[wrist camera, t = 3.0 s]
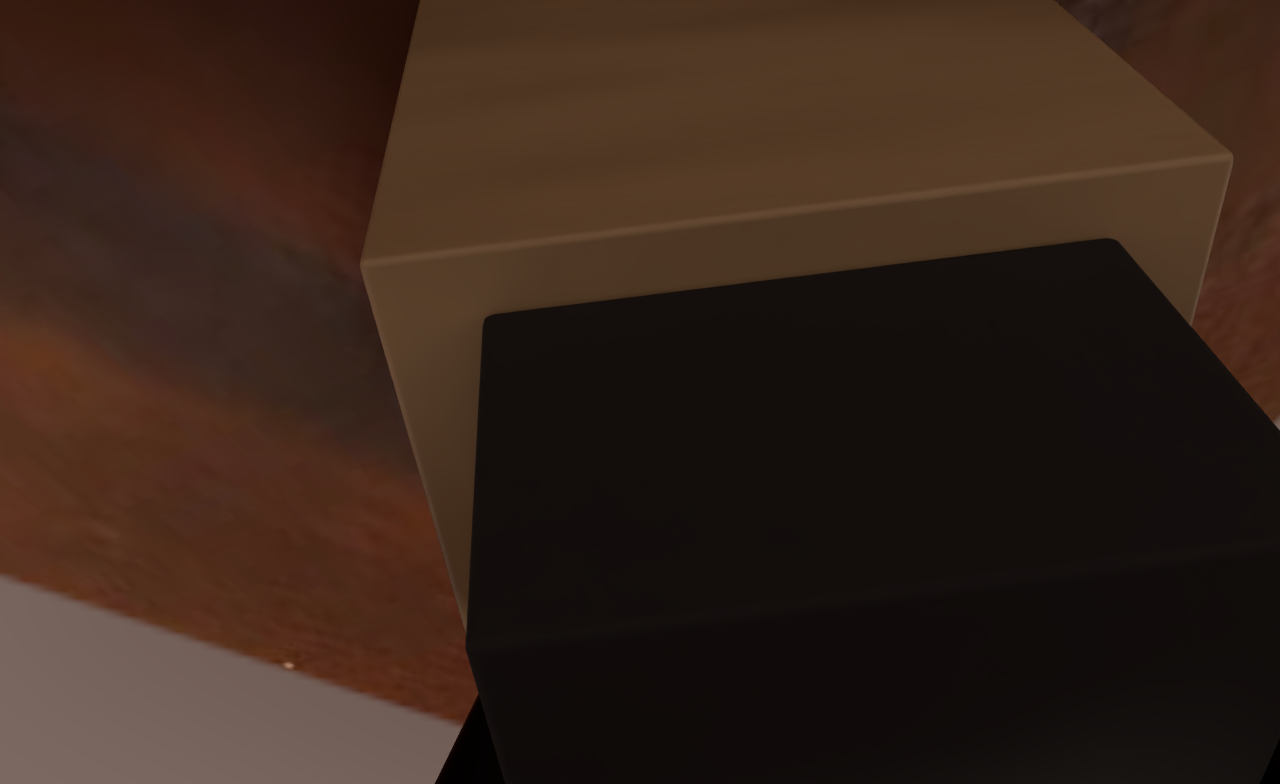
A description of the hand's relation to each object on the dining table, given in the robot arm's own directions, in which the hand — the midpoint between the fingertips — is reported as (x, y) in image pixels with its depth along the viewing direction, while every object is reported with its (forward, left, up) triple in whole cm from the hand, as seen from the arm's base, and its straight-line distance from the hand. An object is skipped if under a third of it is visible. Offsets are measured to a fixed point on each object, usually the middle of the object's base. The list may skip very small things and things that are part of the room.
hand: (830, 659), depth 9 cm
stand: (0, 0, -7) cm, 7 cm away
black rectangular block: (0, 0, -1) cm, 1 cm away
